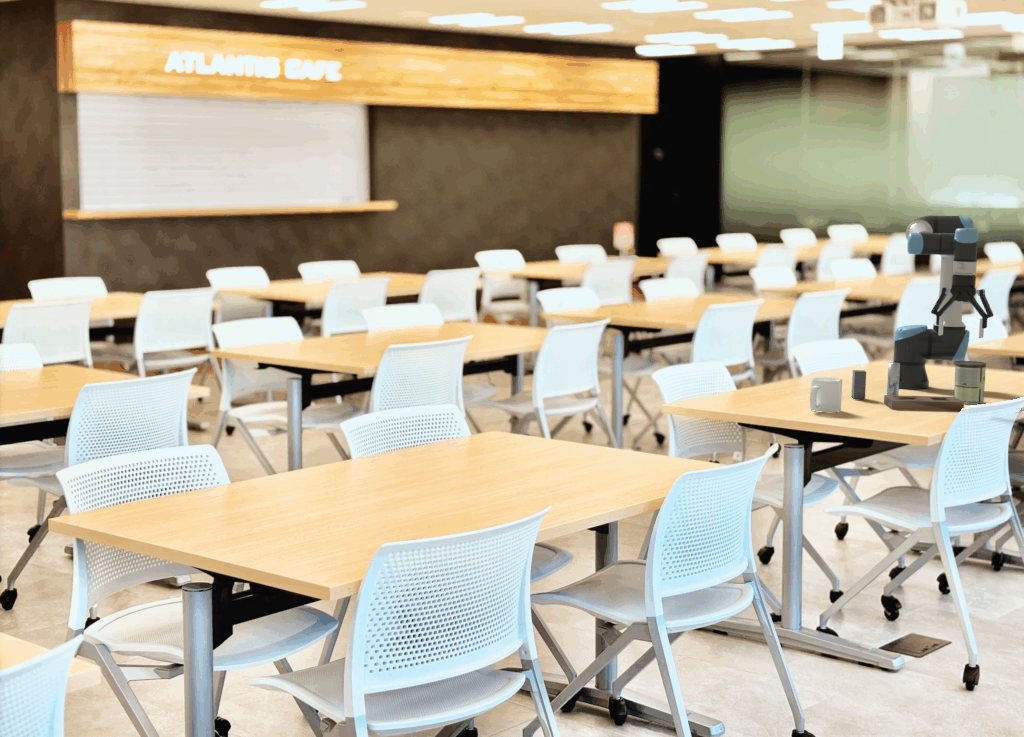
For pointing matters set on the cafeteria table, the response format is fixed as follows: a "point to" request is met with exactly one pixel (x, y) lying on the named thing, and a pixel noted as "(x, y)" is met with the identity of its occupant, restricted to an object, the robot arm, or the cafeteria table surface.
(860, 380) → the square bit
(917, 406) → the socket block
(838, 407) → the mug
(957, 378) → the coffee can
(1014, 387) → the cafeteria table surface
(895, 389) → the grey cylinder
